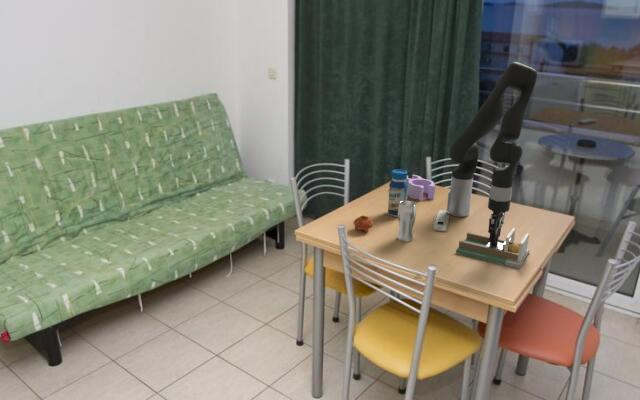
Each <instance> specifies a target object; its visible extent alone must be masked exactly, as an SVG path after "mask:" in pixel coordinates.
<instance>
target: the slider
mask: <svg viewBox="0 0 640 400" xmlns="http://www.w3.org/2000/svg"><path fill="white" fill-rule="evenodd" d="M500 226H501V223H500ZM500 228H501V227H499V228H498V230H497V235H496V242H495V243H491V242H489V243H488V244H487V246H486V247H491V248H495V249H499V250H504V249H505V242H504V243H499V242H498V239H500V237H499V231H500ZM492 230H494V229H493V228H492ZM510 242H511V238H510V239H509V245H508V248H509V246H510Z"/></svg>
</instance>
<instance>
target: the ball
mask: <svg viewBox="0 0 640 400" xmlns="http://www.w3.org/2000/svg"><path fill="white" fill-rule="evenodd" d="M515 243H516V242H514V243H513V244H511V245H510V246H509V248H508V250H509V252H512V253H519V248H520V247H519V245H517V244H515Z"/></svg>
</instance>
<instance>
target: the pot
mask: <svg viewBox="0 0 640 400" xmlns="http://www.w3.org/2000/svg"><path fill="white" fill-rule="evenodd" d="M353 225H354V230H355V231H357V230H358V229H359V230H361V231H365V234H367V233H369V232H368V231H369V229H371V228H372V227H373V225H374V221H373V220H372V219H371V218H370V217H368V216H366V215H360V216H359V217H357V218H355V219H354V221H353Z"/></svg>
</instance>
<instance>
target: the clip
mask: <svg viewBox="0 0 640 400" xmlns="http://www.w3.org/2000/svg"><path fill="white" fill-rule="evenodd" d="M406 182H407V184H408V188H407V190H408V194H407V197H408V198H410V199H413V200H414V199H415V200H417V201H418V200H419V202H422V201H423V200H424V198H423V197H424V194H427V195H428V196H427V199H429V200H432V201H434V200H435V197H436V196H435V195H436V185H435V181H433V180H431V179H427V178H426V179H425V178H423V177H421V176H420V175H416V174H412V175H411V178H409V175H407V179H406Z"/></svg>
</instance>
